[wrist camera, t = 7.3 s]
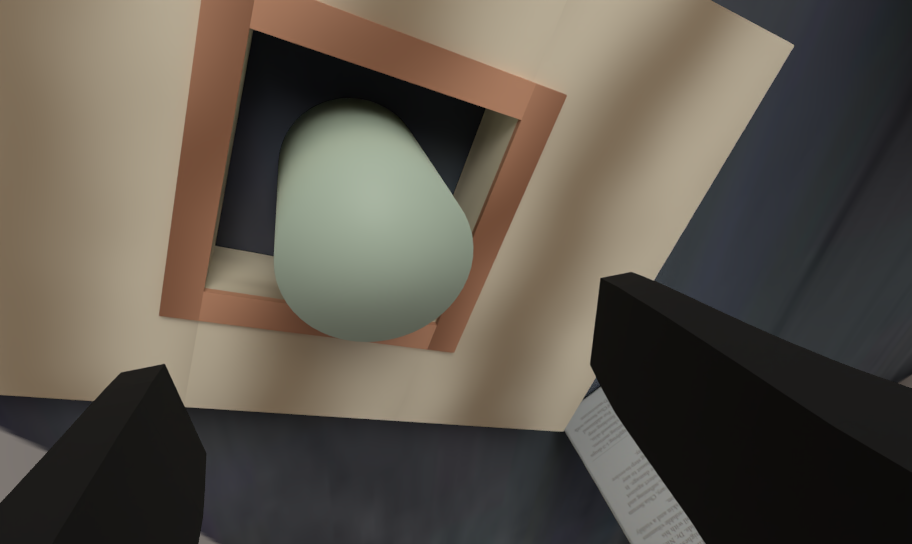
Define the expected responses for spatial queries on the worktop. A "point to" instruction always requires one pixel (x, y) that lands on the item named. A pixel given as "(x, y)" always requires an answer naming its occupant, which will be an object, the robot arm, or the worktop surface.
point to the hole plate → (252, 275)
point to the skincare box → (627, 477)
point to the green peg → (365, 225)
